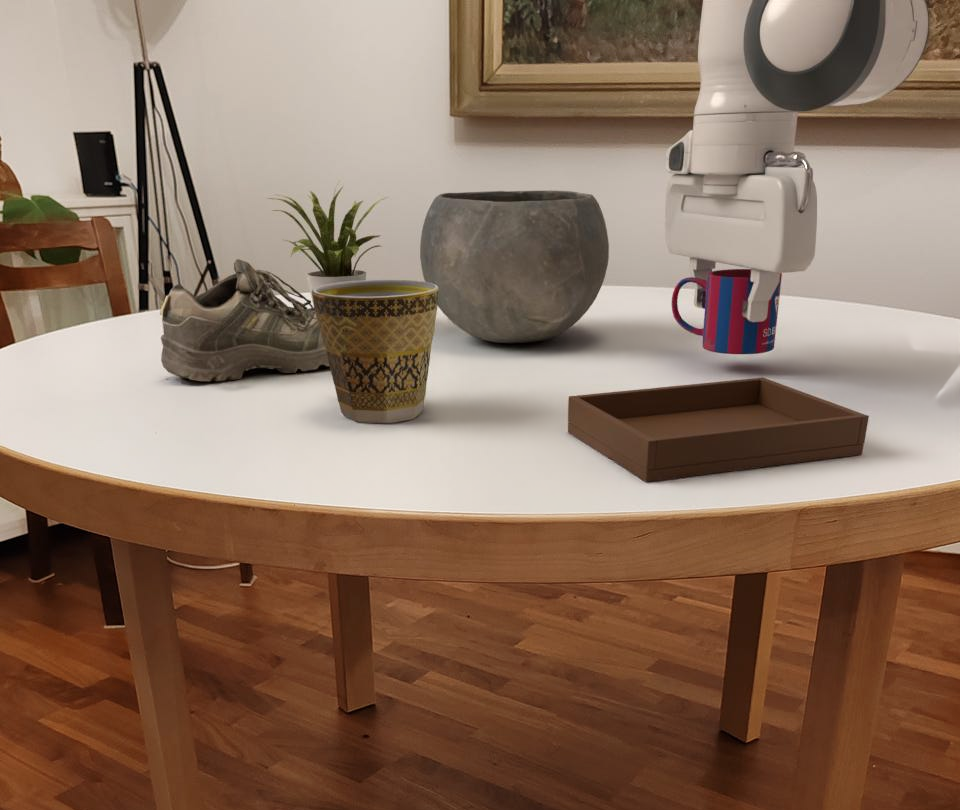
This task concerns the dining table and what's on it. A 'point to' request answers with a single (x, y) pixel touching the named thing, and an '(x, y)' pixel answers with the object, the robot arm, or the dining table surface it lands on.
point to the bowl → (515, 261)
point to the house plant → (331, 243)
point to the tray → (714, 427)
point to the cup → (731, 314)
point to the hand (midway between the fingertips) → (728, 313)
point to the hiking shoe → (239, 329)
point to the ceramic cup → (378, 345)
